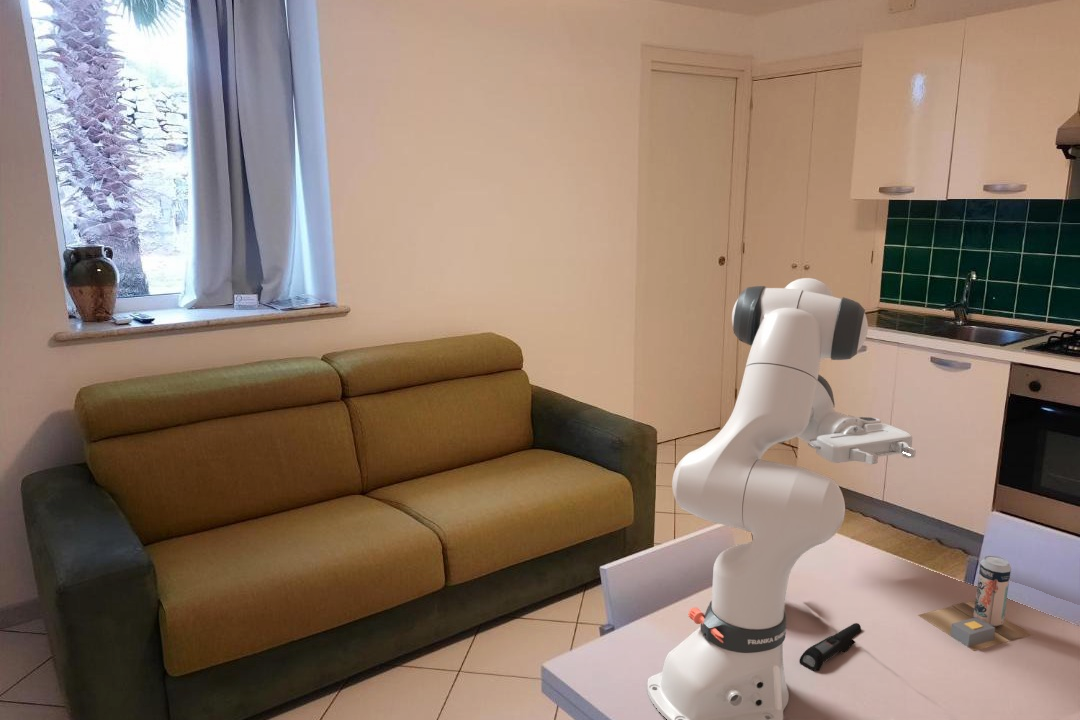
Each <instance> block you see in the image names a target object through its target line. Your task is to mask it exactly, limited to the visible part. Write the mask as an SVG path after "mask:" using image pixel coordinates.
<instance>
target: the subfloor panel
mask: <svg viewBox="0 0 1080 720" xmlns="http://www.w3.org/2000/svg"><path fill="white" fill-rule="evenodd" d="M974 607H975V601H974V600H972V601H968V602H967V601H966V602H960V603H956V604H952V605H951V606H947V607H944V608H941V609H940V608H939V609H937V610H932V611H929V612H924V613H921V614H917V616H919V617H920V618H921V619H923V620H924V621H926V622H928V623H929V624H931V625H932V626H934V627H936V628H938V629H939V630H940V631H942V632H943V633H944V634H946V635H948V636H949V637H951V636H950V635H951V627H952V624H953V623H956V622H960V621H964V620H968V619H972V618H974V616H973V614H974ZM1003 622H1004V623H1003V624H1002V625H999V626H993V627H995V633H994V640H991V641H988V642H984V643H981V644H977V645H973V646H970V647H967V646H966V645H964V646H965V647H967V648H968V649H970V650H972V651H973V652H977V651H980V650H983V649H987V648H990V647H995V646H998V645H1001V644H1004V643H1009V642H1011V641H1015V640H1018V639H1022V638H1026V637H1030V636H1033V633H1031V632H1029V631H1027V630H1025V629H1024V628H1022V627H1020V626H1018V625H1017V624H1015V623H1013V622H1011V621H1010V620H1008V619H1007V618H1004V621H1003ZM953 639H955V638H953ZM955 640H956V639H955ZM956 641H957V642H959V641H958V640H956ZM959 643H961V642H959ZM961 644H962V643H961Z"/></svg>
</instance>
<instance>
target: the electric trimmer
mask: <svg viewBox="0 0 1080 720" xmlns="http://www.w3.org/2000/svg"><path fill="white" fill-rule="evenodd" d="M861 632H862V627H861V625H860V623H858V622H855V623H852V624H851V625H848V626H847V627H845V628H843V629H842V630H840V631H838V632H836V633H835V634H833V635H831V636H828V637H826V638H824V639H823V640H821V641H819V642H817V643H815V644H813V645H811V646H810V647H808V648H807V649H806V650H804V651H803V653H802V655H801V656H800V657H799V664H800V666H803V667H804V668H806V669H808V670H809V671H812V672H819V671H820V670H821V669H822V667H823V664H824V663H826V662H827V661H828V660H830V659H831V658H832V657H834V656H835V655H837V654H838V653H847V651H849V649H850V648H851V647H852V646H853V645H855V643H856V641H855V640H854V638H856V637H857V636H858V635H859V634H860V633H861Z"/></svg>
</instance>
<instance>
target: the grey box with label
mask: <svg viewBox="0 0 1080 720" xmlns="http://www.w3.org/2000/svg"><path fill="white" fill-rule="evenodd" d="M994 633H995V627H993V626H991V625H990V624H988V623H986V622H985V621H983V620H981V619H980V618H978V617H976V618H972V619H968V620H964V621H960V622H956V623H953V624H952V627H951V635H950V636H949V637H951V638H953V639H954V638H955V640H956V641H957V640H958V641H957V642H959V643H960V642H961V645H963V646H965V645H966V646H965V647H967V648H968V647H970V646H973V645H977V644H981V643H984V642H988V641H991V640H994Z"/></svg>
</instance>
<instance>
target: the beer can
mask: <svg viewBox="0 0 1080 720" xmlns="http://www.w3.org/2000/svg"><path fill="white" fill-rule="evenodd" d="M1011 571H1012V567H1011V565H1010V562H1009V561H1008V560H1007V559H1006V558H1003V557H1000V556H997V555H996V556H995V555H986V556H984V557H983V559H982V560H981V561H980V562H979V572H978V580H977V586H976V594H975V607H974V614H973V616H974V618H976V617H978V618H980V619H981V620H983V621H985V622H986V623H988V624H990V625H991V626H999V625H1002V624H1003V623H1004V622H1003V621H1004V619H1005V615H1006V614H1005V613H1006V606H1007V599H1008V593H1009V586H1010V579H1011V578H1010V577H1011Z"/></svg>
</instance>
